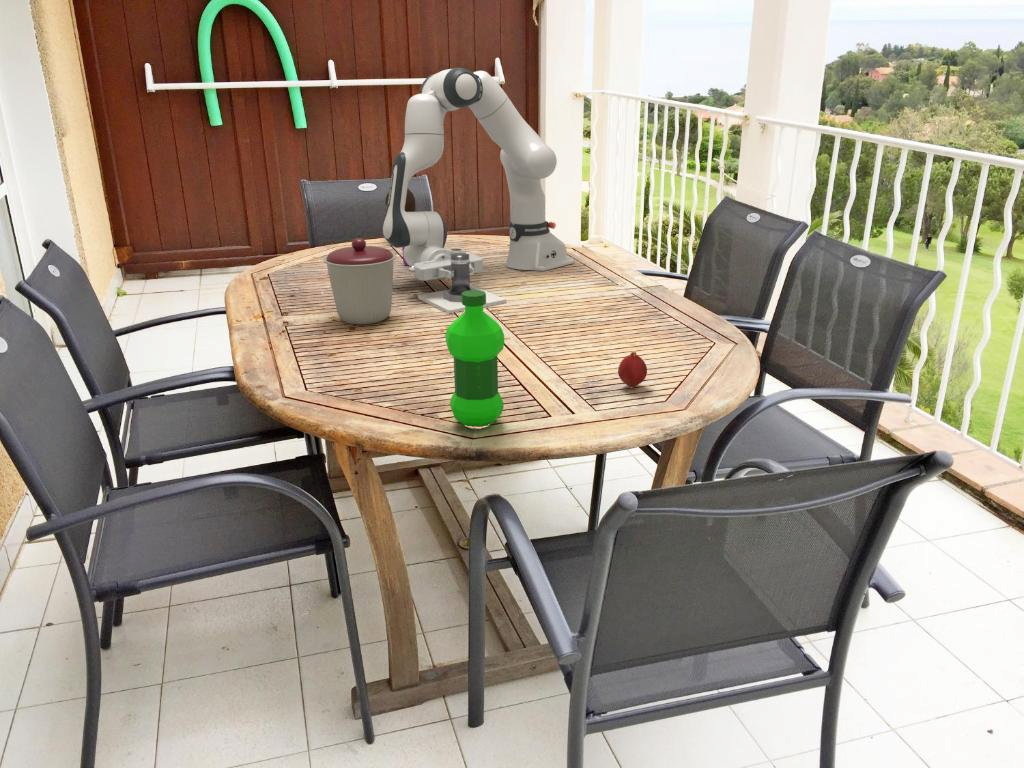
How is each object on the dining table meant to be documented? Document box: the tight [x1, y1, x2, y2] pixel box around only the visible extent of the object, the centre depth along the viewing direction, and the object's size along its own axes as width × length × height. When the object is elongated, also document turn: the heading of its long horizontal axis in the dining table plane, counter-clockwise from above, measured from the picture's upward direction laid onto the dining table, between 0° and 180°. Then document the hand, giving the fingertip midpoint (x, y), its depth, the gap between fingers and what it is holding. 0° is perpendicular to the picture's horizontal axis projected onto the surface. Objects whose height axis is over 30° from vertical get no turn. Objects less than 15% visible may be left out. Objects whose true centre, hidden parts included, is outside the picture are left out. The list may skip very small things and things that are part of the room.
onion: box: [617, 350, 648, 388], centre depth 164 cm, size 6×6×8 cm
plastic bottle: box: [445, 290, 505, 426], centre depth 145 cm, size 10×10×25 cm
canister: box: [323, 237, 397, 325], centre depth 207 cm, size 18×18×21 cm
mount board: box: [417, 284, 507, 314], centre depth 225 cm, size 18×18×2 cm
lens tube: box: [451, 252, 471, 296], centre depth 222 cm, size 5×5×11 cm
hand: (462, 273), depth 222 cm, fingers closed on lens tube, 5 cm apart
